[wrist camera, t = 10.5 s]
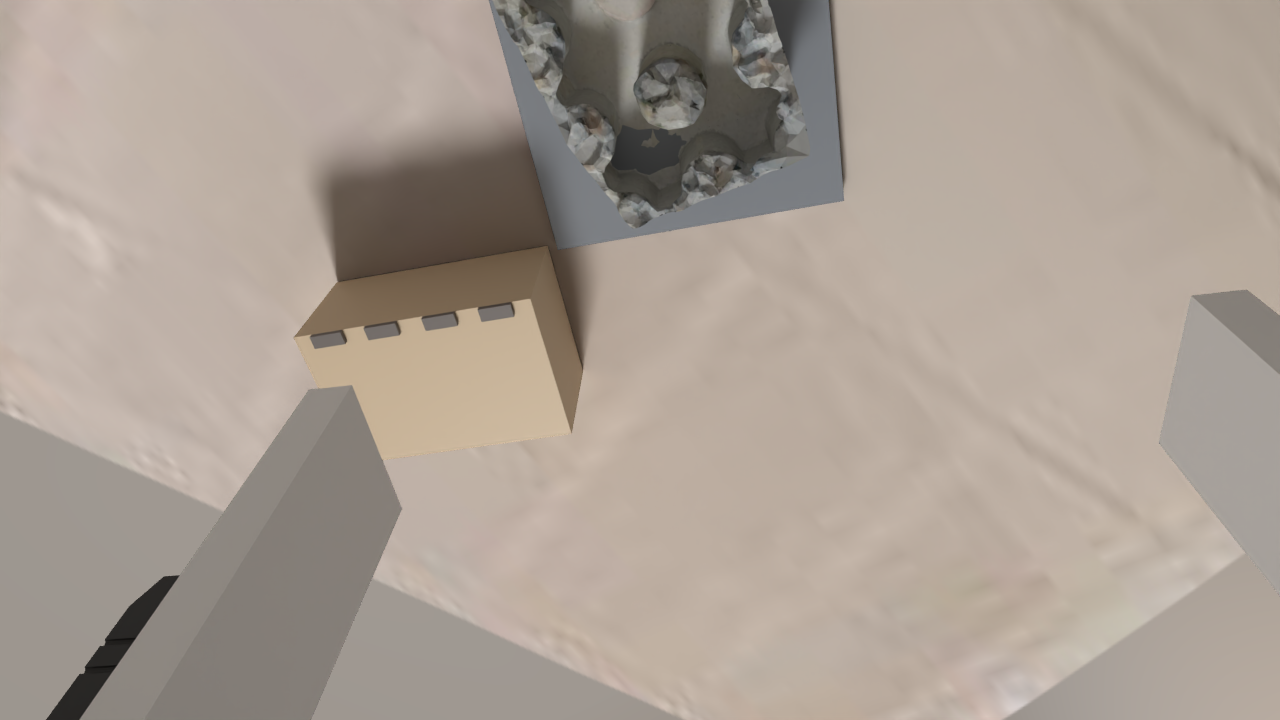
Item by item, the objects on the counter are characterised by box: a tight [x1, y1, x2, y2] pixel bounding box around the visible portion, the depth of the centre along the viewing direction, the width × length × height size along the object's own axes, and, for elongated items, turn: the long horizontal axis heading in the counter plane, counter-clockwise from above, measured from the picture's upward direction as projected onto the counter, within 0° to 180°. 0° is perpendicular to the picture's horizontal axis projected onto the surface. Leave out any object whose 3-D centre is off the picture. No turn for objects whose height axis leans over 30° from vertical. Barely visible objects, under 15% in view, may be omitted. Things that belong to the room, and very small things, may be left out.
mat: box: [489, 0, 844, 250], centre depth 28 cm, size 11×14×1 cm
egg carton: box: [492, 0, 810, 228], centre depth 26 cm, size 11×8×4 cm
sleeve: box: [294, 246, 583, 460], centre depth 33 cm, size 9×6×5 cm, turn 102°
